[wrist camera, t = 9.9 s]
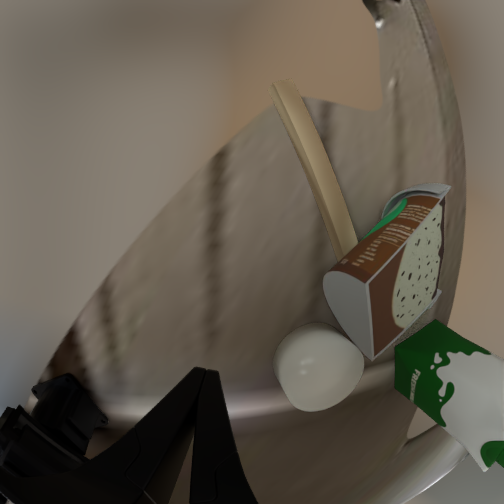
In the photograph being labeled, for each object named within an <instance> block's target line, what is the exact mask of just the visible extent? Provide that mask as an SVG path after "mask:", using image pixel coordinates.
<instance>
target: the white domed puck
mask: <svg viewBox="0 0 504 504" xmlns="http://www.w3.org/2000/svg"><path fill="white" fill-rule="evenodd" d="M273 370H274V373H275V375H276V377H277V379H278V381H279V383H280V385H281V386H282V388H283V390H284V392H285V394H286V396H287V397H288V399H289V401H290V402H291V404H292V405H293V406H294V407H296V408H297V409H300V410H303V411H308V412H313V411H320V410H324V409H327V408H330V407H332V406H334V405H336V404H337V403H339V402H341V401H342V400H343V399H345V398H346V397H347V396H348V395H349V394H350V393H351V392H352V391H353V390H354V388H355V387H356V386H357V384H358V382H359V381H360V379H361V376H362V373H363V370H364V358H363V354H362V353H361V351H360V350H359V348H357V347H356V346H355V345H354V344H353V343H352V342H350V341H349V340H348V339H347V338H346V337H344V336H343V335H342V334H341V333H340V332H339V331H337V330H336V329H335V328H334V327H332V326H331V325H328V324H325V323H310V324H306V325H303V326H301V327H299V328H297V329H295V330H293V331H292V332H291V333H289V334H288V335H287V336H286V337H285V338H284V339H283V340H282V341H281V343H280V344H279V346H278V347H277V349H276V351H275V354H274V357H273Z"/></svg>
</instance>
